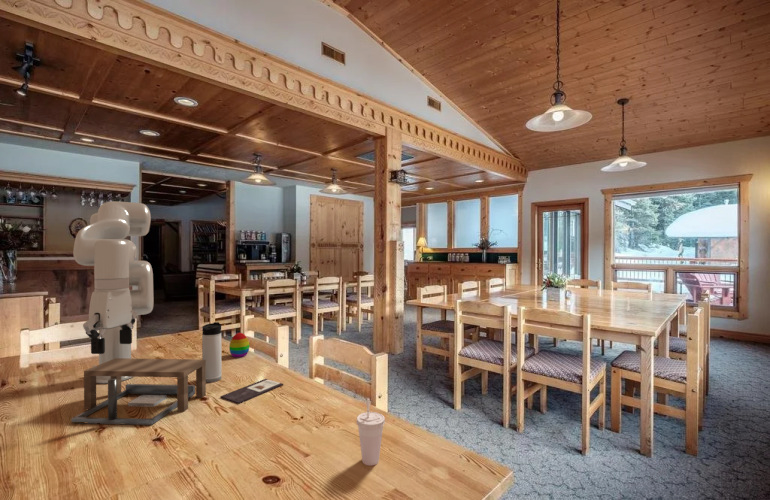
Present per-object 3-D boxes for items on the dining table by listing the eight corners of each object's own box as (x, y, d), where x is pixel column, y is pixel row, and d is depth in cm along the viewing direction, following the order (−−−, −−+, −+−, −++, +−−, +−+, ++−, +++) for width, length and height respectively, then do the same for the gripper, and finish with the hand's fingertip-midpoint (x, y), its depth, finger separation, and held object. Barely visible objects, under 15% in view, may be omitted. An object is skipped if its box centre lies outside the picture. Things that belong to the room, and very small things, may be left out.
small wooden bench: (84, 409, 109) (83, 370, 109) (115, 393, 121) (115, 358, 121) (184, 411, 108) (183, 372, 108) (205, 395, 120) (205, 359, 120)
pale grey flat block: (128, 407, 112) (128, 402, 112) (142, 399, 118) (141, 394, 118) (153, 408, 111) (153, 403, 111) (166, 400, 117) (166, 395, 117)
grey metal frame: (69, 423, 100) (69, 380, 100) (127, 392, 122) (127, 356, 121) (150, 425, 99) (150, 381, 99) (194, 393, 121) (194, 357, 121)
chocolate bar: (220, 396, 118) (265, 378, 133) (220, 399, 118) (265, 381, 133) (238, 402, 113) (283, 383, 129) (238, 405, 113) (283, 386, 129)
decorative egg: (252, 355, 163) (252, 332, 163) (235, 359, 157) (234, 336, 157) (243, 351, 169) (243, 329, 169) (225, 355, 163) (225, 333, 163)
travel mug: (225, 376, 137) (225, 322, 137) (215, 383, 131) (215, 326, 130) (209, 375, 138) (209, 321, 138) (198, 382, 131) (198, 325, 131)
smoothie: (356, 453, 87) (356, 393, 87) (383, 452, 87) (383, 392, 87) (356, 469, 80) (356, 405, 80) (386, 468, 81) (386, 404, 81)
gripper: (122, 282, 109) (122, 340, 109) (70, 288, 92) (70, 357, 92) (147, 282, 109) (147, 340, 109) (99, 288, 91) (100, 358, 92)
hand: (112, 348), depth 100 cm, fingers open, 9 cm apart
